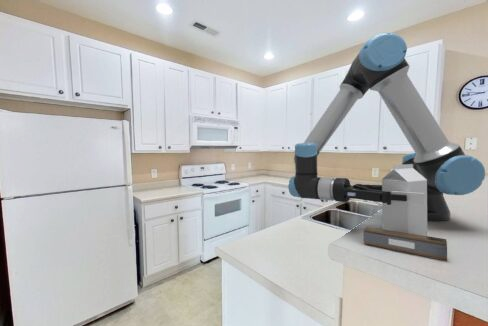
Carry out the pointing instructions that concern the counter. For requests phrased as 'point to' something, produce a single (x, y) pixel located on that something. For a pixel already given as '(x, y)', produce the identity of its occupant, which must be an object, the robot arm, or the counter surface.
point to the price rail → (407, 242)
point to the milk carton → (405, 214)
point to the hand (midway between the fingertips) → (424, 195)
